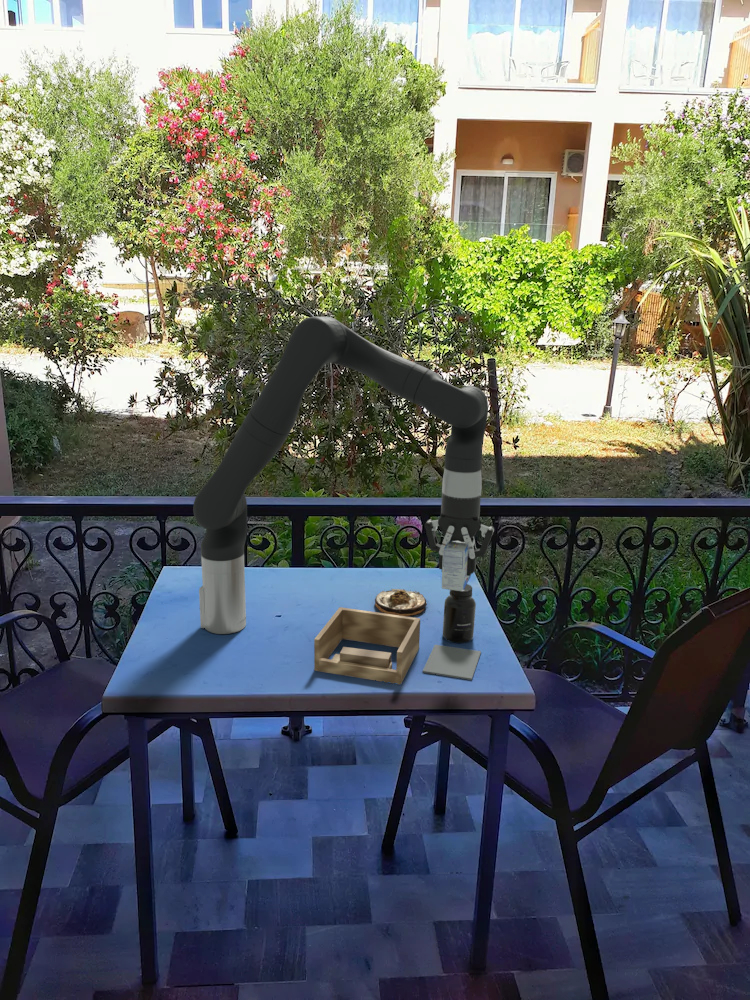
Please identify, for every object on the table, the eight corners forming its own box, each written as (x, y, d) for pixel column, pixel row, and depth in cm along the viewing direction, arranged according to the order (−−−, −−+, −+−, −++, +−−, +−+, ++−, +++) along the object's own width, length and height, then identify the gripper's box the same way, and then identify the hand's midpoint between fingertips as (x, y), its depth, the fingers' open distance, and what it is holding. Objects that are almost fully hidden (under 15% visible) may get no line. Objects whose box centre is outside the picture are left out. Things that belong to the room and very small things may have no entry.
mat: (422, 672, 162) (422, 670, 162) (434, 646, 173) (434, 644, 173) (471, 680, 160) (471, 678, 159) (480, 653, 171) (481, 651, 171)
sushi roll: (426, 624, 184) (427, 608, 183) (363, 617, 188) (363, 600, 186) (436, 599, 198) (437, 583, 197) (377, 592, 201) (378, 577, 200)
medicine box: (463, 592, 157) (465, 550, 155) (440, 589, 158) (442, 547, 156) (470, 577, 164) (473, 538, 162) (449, 575, 166) (451, 535, 163)
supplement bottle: (461, 647, 173) (464, 595, 170) (436, 637, 177) (438, 587, 174) (479, 636, 178) (482, 586, 175) (454, 627, 182) (457, 578, 179)
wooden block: (330, 669, 163) (330, 651, 161) (336, 661, 166) (336, 644, 164) (388, 678, 160) (388, 660, 158) (392, 670, 163) (392, 653, 161)
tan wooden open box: (314, 670, 162) (314, 639, 160) (339, 636, 177) (339, 607, 175) (400, 684, 157) (401, 652, 155) (419, 648, 172) (420, 618, 170)
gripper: (421, 492, 154) (417, 575, 159) (495, 499, 150) (489, 584, 155) (429, 482, 161) (425, 562, 166) (500, 489, 157) (495, 570, 162)
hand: (456, 572), depth 161 cm, fingers closed on medicine box, 4 cm apart
